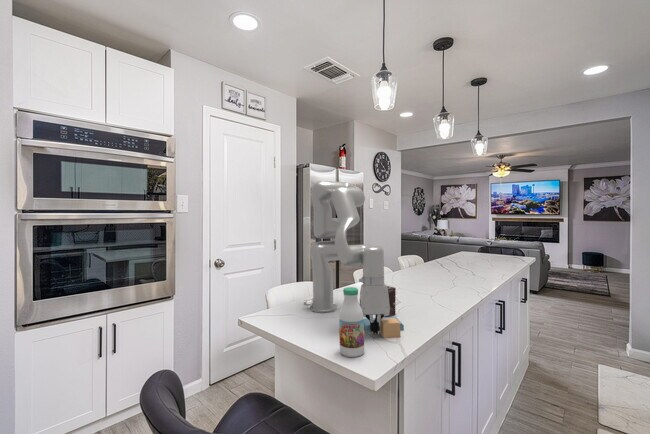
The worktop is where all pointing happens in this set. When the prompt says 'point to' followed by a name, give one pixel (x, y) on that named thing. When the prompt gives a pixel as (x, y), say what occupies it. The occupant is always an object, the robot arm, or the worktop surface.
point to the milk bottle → (351, 325)
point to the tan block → (390, 328)
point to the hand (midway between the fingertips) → (374, 332)
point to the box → (391, 300)
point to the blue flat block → (367, 324)
